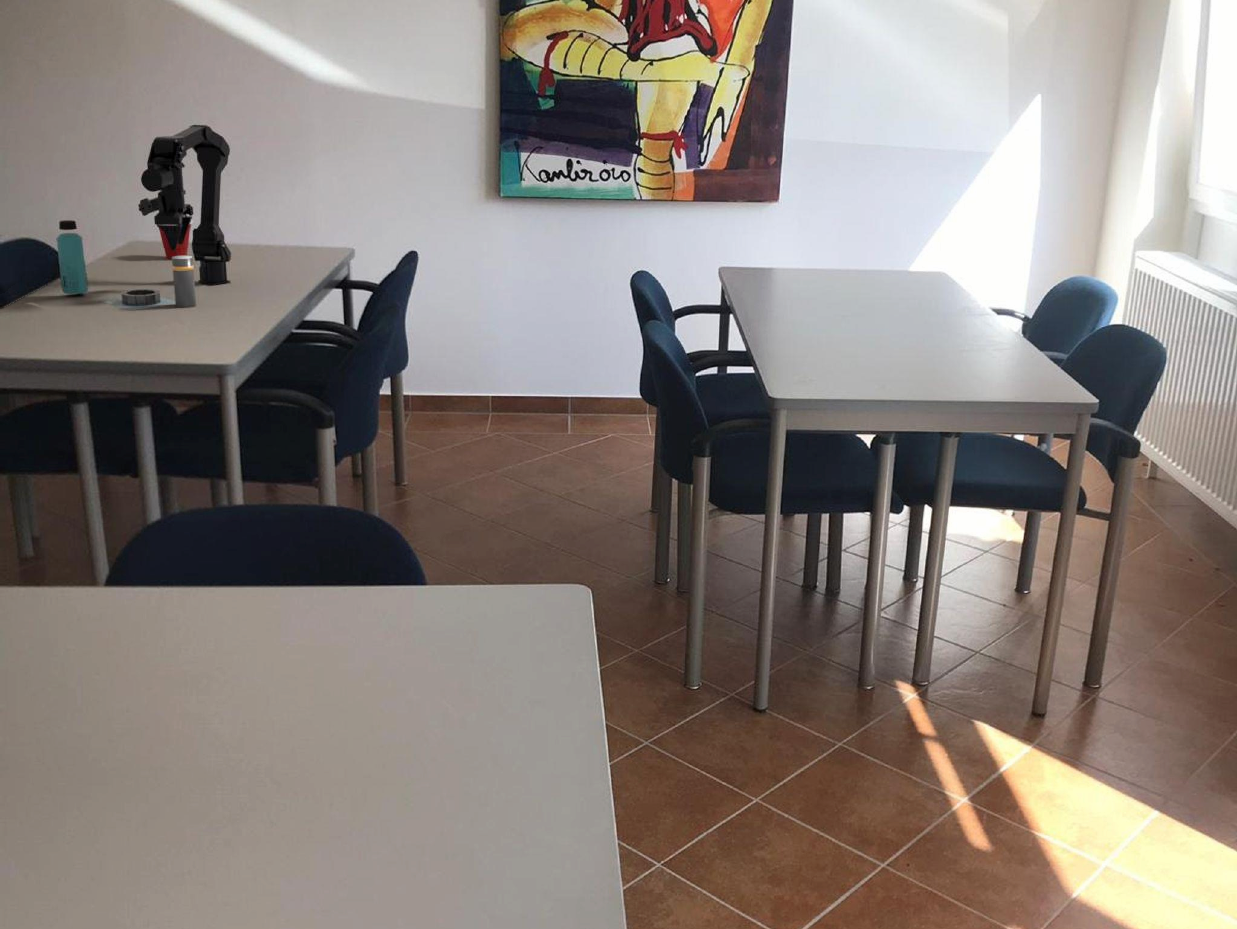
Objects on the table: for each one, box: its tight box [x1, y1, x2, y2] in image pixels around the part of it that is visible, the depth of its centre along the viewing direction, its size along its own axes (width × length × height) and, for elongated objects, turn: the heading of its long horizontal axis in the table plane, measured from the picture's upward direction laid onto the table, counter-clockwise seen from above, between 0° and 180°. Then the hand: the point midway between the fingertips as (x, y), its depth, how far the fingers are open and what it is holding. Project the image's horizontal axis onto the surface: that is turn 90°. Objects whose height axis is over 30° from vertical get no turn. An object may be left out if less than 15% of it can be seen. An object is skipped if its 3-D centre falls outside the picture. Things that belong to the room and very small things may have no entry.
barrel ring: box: [121, 288, 161, 306], centre depth 333 cm, size 9×9×2 cm
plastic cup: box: [158, 219, 194, 261], centre depth 396 cm, size 11×11×12 cm
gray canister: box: [171, 255, 197, 309], centre depth 329 cm, size 5×5×13 cm
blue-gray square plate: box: [102, 296, 176, 311], centre depth 333 cm, size 14×14×1 cm
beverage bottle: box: [56, 219, 89, 295], centre depth 336 cm, size 6×7×20 cm
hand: (176, 247), depth 340 cm, fingers open, 9 cm apart
